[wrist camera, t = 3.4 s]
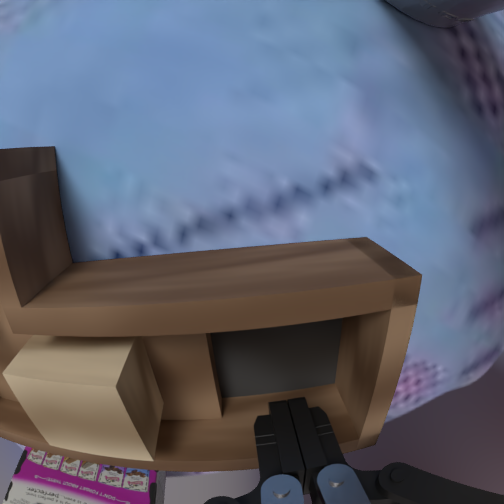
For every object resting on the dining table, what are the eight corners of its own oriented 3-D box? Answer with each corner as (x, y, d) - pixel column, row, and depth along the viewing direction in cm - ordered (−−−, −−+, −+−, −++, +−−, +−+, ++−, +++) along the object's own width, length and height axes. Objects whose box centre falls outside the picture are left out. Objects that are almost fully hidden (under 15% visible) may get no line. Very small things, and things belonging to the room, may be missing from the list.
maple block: (39, 327, 12) (2, 373, 8) (139, 327, 13) (115, 386, 9) (72, 397, 14) (49, 445, 10) (163, 403, 14) (153, 461, 10)
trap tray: (-62, 191, 11) (-110, 208, 6) (365, 115, 12) (427, 104, 8) (6, 390, 16) (-19, 429, 11) (348, 389, 18) (375, 444, 13)
